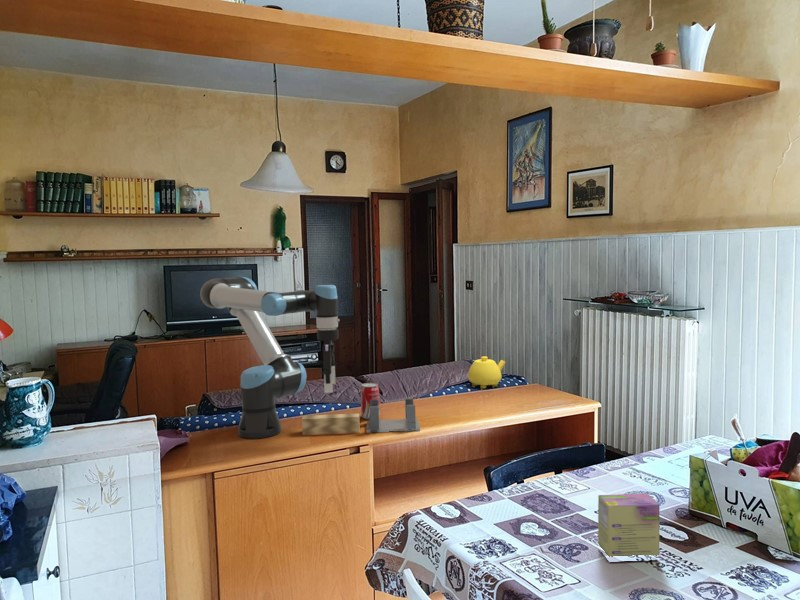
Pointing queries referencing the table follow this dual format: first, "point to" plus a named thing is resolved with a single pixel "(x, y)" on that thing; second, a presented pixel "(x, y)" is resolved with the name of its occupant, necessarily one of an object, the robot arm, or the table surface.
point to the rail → (330, 424)
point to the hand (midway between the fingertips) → (330, 388)
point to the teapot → (485, 372)
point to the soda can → (368, 398)
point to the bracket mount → (394, 424)
